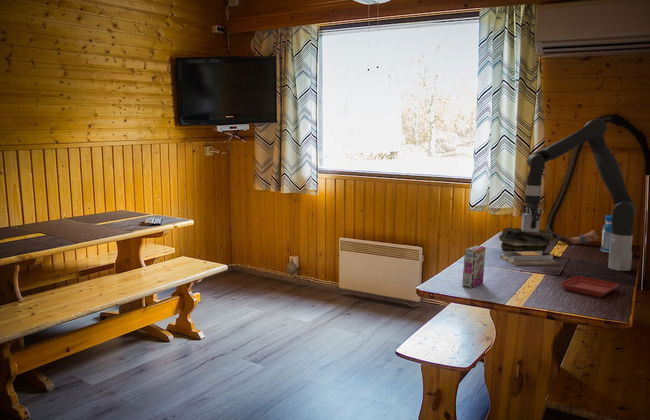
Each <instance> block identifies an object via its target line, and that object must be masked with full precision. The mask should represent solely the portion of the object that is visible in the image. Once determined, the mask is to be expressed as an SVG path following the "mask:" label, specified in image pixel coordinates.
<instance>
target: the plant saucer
mask: <svg viewBox="0 0 650 420" xmlns="http://www.w3.org/2000/svg"><path fill="white" fill-rule="evenodd" d="M560 285H561V287H563V289H564V290H567V291H571V292H574V293H575V292H576V293H580V294H583V295H588V296H593V297H598V298H601V297H603V296H606V295H607V294H609V293H611V292H613V291H615V289H617V288H618V286H619V285H620V284H619V283H617V282H612V281H607V280H602V279H596V278H592V277H587V276H581V275H575V276H573V277H571V278H568V279H566V280H564V281H562V282H560Z"/></svg>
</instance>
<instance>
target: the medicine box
mask: <svg viewBox="0 0 650 420" xmlns="http://www.w3.org/2000/svg"><path fill="white" fill-rule="evenodd" d="M521 217H522V218H521V228H520V229H521V230H522V231H528V232H539V229H540V224H541V218H540V219H539V221H536V228H535V229H532V228H531V221H532V219H531V216H530V214H525V213H523V212H522V215H521ZM533 218H534V217H533ZM537 218H538V216H537Z"/></svg>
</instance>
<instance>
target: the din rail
mask: <svg viewBox="0 0 650 420" xmlns="http://www.w3.org/2000/svg"><path fill="white" fill-rule="evenodd" d="M517 252H532V251H524V250H517V251H516V250H515V251H512V250H510V251H503V255H504V257H506V258H508V259H510V260H512V261H552V260H553V258H554V256H553V255H548V254H547V255H545V254H543V253H542V252H543V251H533V252H535V253H537V254H540V256H522V255H520V254H518V253H517Z"/></svg>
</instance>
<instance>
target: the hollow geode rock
mask: <svg viewBox="0 0 650 420" xmlns="http://www.w3.org/2000/svg"><path fill="white" fill-rule="evenodd" d="M498 239H499V241H501V245H500V248H501V250H505V251H506V252H510V251H512V250H520V251H543V252H542V254H544V253H545V251H546V250H547V248H548V247H549V245H551V241H554V240H555V238H554V237H553V235H552V233H550V232H549V231H548V230H543V229H540V228H539V232H528V231H522V230H521V228H518V227H517V228H512V227H506V228H504V229H502V233H501V234H500V235H499V236H498Z"/></svg>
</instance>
